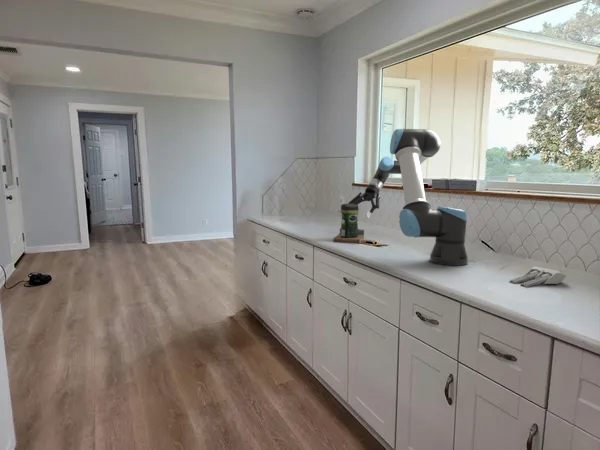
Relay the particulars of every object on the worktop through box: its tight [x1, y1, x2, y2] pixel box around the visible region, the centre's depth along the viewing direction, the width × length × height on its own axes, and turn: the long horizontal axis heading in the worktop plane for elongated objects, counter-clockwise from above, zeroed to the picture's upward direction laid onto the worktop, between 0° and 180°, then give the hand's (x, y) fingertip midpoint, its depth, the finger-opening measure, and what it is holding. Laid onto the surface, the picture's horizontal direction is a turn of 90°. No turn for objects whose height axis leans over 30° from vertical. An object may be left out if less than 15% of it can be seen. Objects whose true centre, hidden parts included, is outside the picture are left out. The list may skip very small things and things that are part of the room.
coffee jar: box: [339, 203, 360, 238], centre depth 209 cm, size 10×8×19 cm
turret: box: [509, 265, 567, 288], centre depth 132 cm, size 10×20×5 cm, turn 111°
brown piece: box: [332, 227, 365, 245], centre depth 211 cm, size 20×14×5 cm
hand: (357, 215), depth 213 cm, fingers open, 13 cm apart
